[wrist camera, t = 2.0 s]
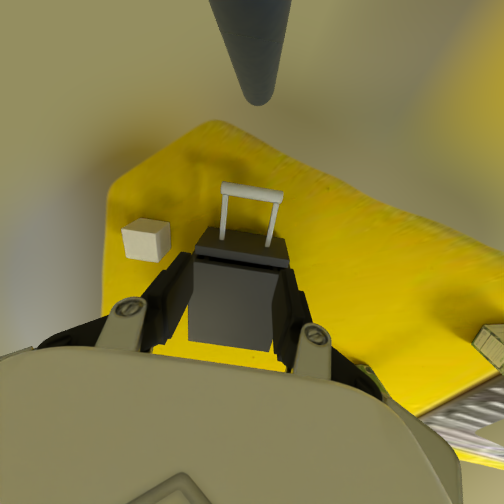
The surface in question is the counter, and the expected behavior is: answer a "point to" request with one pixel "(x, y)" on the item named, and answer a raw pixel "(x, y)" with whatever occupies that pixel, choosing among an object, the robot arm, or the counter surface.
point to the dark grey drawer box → (231, 305)
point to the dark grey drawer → (245, 235)
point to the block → (146, 239)
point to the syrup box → (491, 345)
